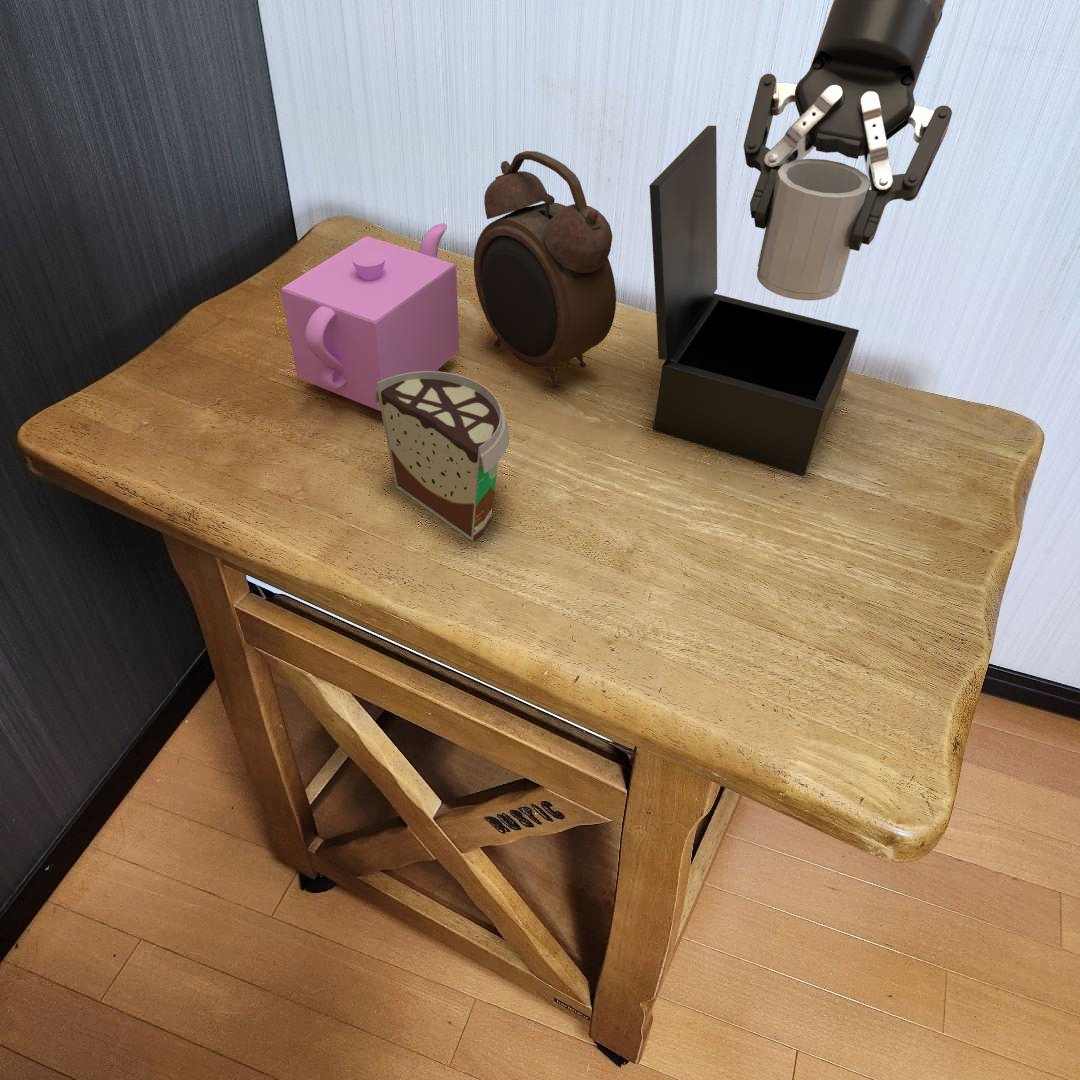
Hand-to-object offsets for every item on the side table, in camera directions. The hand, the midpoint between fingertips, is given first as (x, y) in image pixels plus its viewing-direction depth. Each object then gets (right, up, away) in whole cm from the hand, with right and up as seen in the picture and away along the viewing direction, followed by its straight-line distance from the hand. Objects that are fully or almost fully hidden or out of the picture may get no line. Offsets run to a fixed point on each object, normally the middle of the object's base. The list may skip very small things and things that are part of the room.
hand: (806, 234), depth 66 cm
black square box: (0, -10, +19) cm, 22 cm away
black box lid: (-6, +3, +11) cm, 13 cm away
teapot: (-34, -6, +22) cm, 41 cm away
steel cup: (+1, -2, +4) cm, 5 cm away
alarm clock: (-20, -5, +24) cm, 31 cm away
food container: (-26, -19, +10) cm, 33 cm away
